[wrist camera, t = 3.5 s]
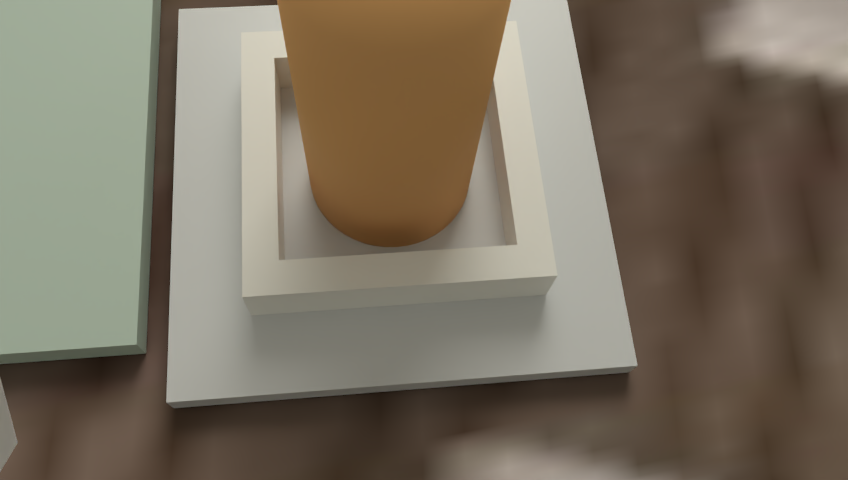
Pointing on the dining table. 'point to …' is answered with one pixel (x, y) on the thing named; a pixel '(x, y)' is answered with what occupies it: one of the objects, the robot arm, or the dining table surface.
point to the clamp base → (373, 265)
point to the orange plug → (391, 107)
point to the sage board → (76, 176)
